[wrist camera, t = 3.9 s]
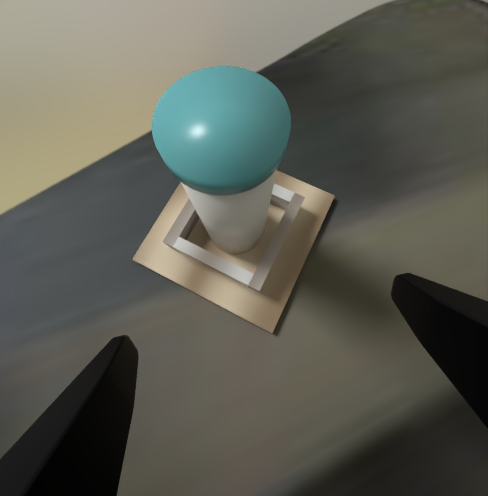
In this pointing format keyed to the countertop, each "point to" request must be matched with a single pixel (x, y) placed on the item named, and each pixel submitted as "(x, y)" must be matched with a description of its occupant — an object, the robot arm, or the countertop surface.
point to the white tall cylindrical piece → (224, 148)
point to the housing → (245, 264)
